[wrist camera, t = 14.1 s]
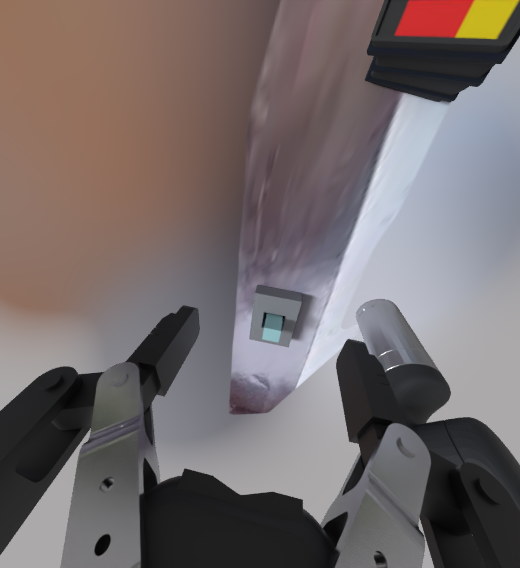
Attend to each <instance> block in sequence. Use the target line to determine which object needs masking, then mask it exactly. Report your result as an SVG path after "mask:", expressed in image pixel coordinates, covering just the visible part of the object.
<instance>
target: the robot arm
mask: <svg viewBox="0 0 520 568" xmlns="http://www.w3.org/2000/svg"><path fill="white" fill-rule="evenodd" d="M356 319H357V322H358V325H359V328H360V331H361V333H362V336H363V339H364V342H365V343H364V342H360V341H356V340H351V339H348V340H347V341H346V342H345V344H344V346H343V348H342V350H341V352H340V354H339V356H338V358H337V363H336V369H337V375H338V381H339V386H340V391H341V397H342V403H343V408H344V414H345V420H346V426H347V431H348V437H349V442H353V443H358V444H359V447H360V453H359V454H358V456H357V458H356V460H355V462H354V464H353V466H352V468H351V470H350V472H349V475H348V476H347V478H346V480H345V482H344V484H343V487H342V489H341V491H340V493H339V495H338V496H337V498H336V499H335V501H334V502H333V503H332V505H331V506H330V508H329V509H328V511H327V513H326V515H325V516H324V519H323V521H322V522H321V524H319V523H318V522H317V521H316V520H315V519H314V518H313V516H311V515H310V514H309V513H308V512H307V511H306V510H304V509H303V500H301V499H298V498H294V497H290V496H287V495H283V494H278V493H275V492H267V493H258V494H249V495H239V494H238V493H236V492H235V491H233V490H232V489H230V488H229V487H227V486H226V485H225V484H223V483H222V482H220V481H219V480H218V479H216V478H215V477H214V476H211V475H207V474H204V473H200V472H196V471H192V470H189V469H184V472H183V474H182V476H177V477H174V478H170V479H167V480H165V481H163V482H161V483H160V472H159V465H158V459H157V454H156V447H155V437H154V424H153V411H152V401H153V400H154V398H155V396H156V395H161V396H165V395H166V393H167V391H168V389H169V387H170V386H171V384H172V382H173V380H174V379H175V377H176V375H177V373H178V371H179V370H180V368H181V366H182V364H183V362H184V361H185V359H186V357H187V355H188V354H189V352H190V350H191V348H192V346H193V344H194V343H195V341H196V339H197V337H198V334H199V329H200V326H199V313H198V309H197V308H193V307H189V306H182V307H181V308H180V309H179V311H178V312H177V313H176V314H174V313H170V314H169V315H167V316H166V317H164V318H163V319H162V320H161V321H160V322H159V323H158V324H157V325H156V328H154V329H153V330H152V331H151V333H150V334H149V335H148V336H147V337H146V338H145V340H144V341H143V342H142V343H141V344H140V346H139V347H138V348H137V349H136V350H135V352H134V353H133V354H132V355H131V356H130V357H129V359H128V360H127V361H126V362H123V363H119V364H116V365H114V366H112V367H110V368H109V369H107V370H106V371H105V372H100V373H90V374H78V373H77V372H76V370H75V369H74V368H72V367H59V368H55V369H52V370H50V371H48V372H46V373H44V374H42V375H41V376H39V377H38V378H37V379H36V380H34V381H33V382H32V383H31V384H30V385H29V386H28V387H26V388H25V389H24V390H23V391H22V392H21V393H20V394H19V395H18V396H16V397H15V398H14V399H13V400H12V401H11V402H10V403H9V404H8V405H6V406H5V407H4V408H3V409H2V410H1V411H0V555H1V553H2V552H3V551H4V549H5V548H6V546H7V545H8V544H9V542H10V541H11V539H12V538H13V536H14V535H15V534H16V532H17V531H18V529H19V528H20V527H21V525H22V524H23V522H24V521H25V520H26V518H27V517H28V515H29V514H30V513H31V511H32V510H33V508H34V507H35V506H36V504H37V503H38V501H39V500H40V499H41V497H42V496H43V494H44V493H45V491H46V490H47V488H48V487H49V486H50V485H51V483H52V482H53V480H54V479H55V477H56V476H57V475H58V473H59V472H60V470H61V469H62V468H63V466H64V465H65V463H66V462H67V461H68V459H69V458H70V456H71V455H72V453H73V452H74V451H75V449H76V448H77V446H78V445H79V444H80V442H81V441H82V439H83V438H84V436H85V435H86V434H87V432H88V431H89V430H90V428H91V432H90V437H89V440H88V442H86V443H84V445H82V447H81V449H80V452H79V457H78V462H77V468H76V474H75V481H74V487H73V493H72V500H71V506H70V512H69V518H68V524H67V531H66V537H65V543H64V549H63V555H62V561H61V568H422V563H423V557H424V551H425V540H424V535H423V534H422V532H421V531H420V530H419V527H418V522H419V517H420V520H421V524H422V527H423V531H424V534H425V537H426V541H427V544H428V547H429V551H430V554H431V558H432V561H433V564H434V568H520V465H519V463H518V462H517V460H516V459H515V458H514V456H513V455H512V454H511V453H510V451H509V450H508V448H507V447H506V446H505V445H504V444H503V442H502V441H501V440H500V439H499V438H498V437H497V435H496V434H494V432H493V431H492V430H491V429H490V428H488V426H486V425H485V424H484V423H482V422H481V421H478V420H477V419H474V418H470V417H463V418H455V419H448V420H445V421H444V420H442V421H436V422H431V423H426V422H427V420H428V418H429V417H430V416H431V415H432V414H433V413H434V412H435V411H437V410H438V409H439V408H441V407H442V406H443V405H444V404H445V403H446V402H447V401H448V400H449V398H450V395H451V391H450V388H449V385H448V383H447V382H446V380H445V379H444V377H443V376H442V374H441V373H440V371H439V370H438V368H437V367H436V365H435V364H434V362H433V361H432V359H431V358H430V356H429V355H428V353H427V352H426V350H425V349H424V347H423V346H422V344H421V343H420V341H419V339H418V338H417V336H416V335H415V333H414V332H413V330H412V329H411V327H410V326H409V325H408V323H407V321H406V320H405V318H404V316H403V315H402V313H401V312H400V310H399V309H398V307H397V306H396V305H395V304H394V303H393V302H391V301H389V300H385V299H376V300H371V301H369V302H366V303H364V304H363V305H362V306H361V307H360V308H359V309H358V310H357V313H356ZM472 535H473V536H472ZM480 554H481V555H480ZM483 561H484V562H483Z"/></svg>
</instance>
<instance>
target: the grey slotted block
mask: <svg viewBox="0 0 520 568" xmlns="http://www.w3.org/2000/svg"><path fill="white" fill-rule="evenodd" d="M301 303H302V293H298V292H293V291H287V290H282V289H277V288H271V287H266V286H261V285H257V288H256V292H255V297H254V306H253V314H252V322H251V330H250V338H249V339H251V340H256V341H261V342H266V343H271V344H275V345H280V346H285V347H289V344H290V341H291V337H292V334H293V331H294V327H295V324H296V320H297V317H298V314H299V310H300V307H301ZM264 312H266V313H271V314H276V315H281V316H284V320H283V323H282V328H281V334H280V338H279V342H273V341H268V340H263V339H262V337H263V331H264V325H265V320H266V319H263V317H264Z"/></svg>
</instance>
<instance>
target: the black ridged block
mask: <svg viewBox="0 0 520 568" xmlns="http://www.w3.org/2000/svg"><path fill="white" fill-rule="evenodd" d="M519 36H520V0H384V3H383V6H382V9H381V11H380V14H379V17H378V20H377V22H376V25H375V28H374V30H373V33H372V38H371V41H370V44H369V47H368V49H367V54H368V55H372V56H374V57H373V60H372V62H371V65H370V68H369V70H368V73H367V75H366V78H365V81H368V82H371V83H374V84H378V85H381V86H385V87H388V88H392V89H395V90H399V91H402V92H406V93H409V94H413V95H416V96H419V97H423V98H426V99H430V100H433V101H437V102H439V101H441V100H443V101H447V102H451V101H454V100H455V99H456V97H457V95H458V94H459V92H460V91H462V90H464V89H466V88H467V87H469V86H474V87H478V86H479V85H481V83H483V81H484V79H485V78H486V76H487V74H488V73H489V72H490V70H491V68H492V67H493V66H494V65H495V64H501V63H502V62H503V61H504V59H505V58H506V56H507V55H508V53H509V52H510V50H511V49H512V47H513V46H514V44H515V42H516V41H517V39H518V38H519Z"/></svg>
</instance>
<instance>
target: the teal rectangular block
mask: <svg viewBox="0 0 520 568" xmlns="http://www.w3.org/2000/svg"><path fill="white" fill-rule="evenodd" d="M282 318H283V316H281V315H276V314H271V313H267V315H266V320H265V325H264V331H263V337H262V339H263V340H268V341H273V342H279V338H280V334H281V328H282Z"/></svg>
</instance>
